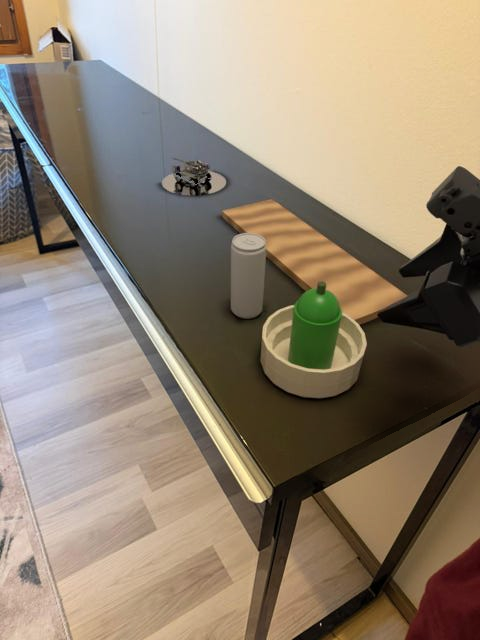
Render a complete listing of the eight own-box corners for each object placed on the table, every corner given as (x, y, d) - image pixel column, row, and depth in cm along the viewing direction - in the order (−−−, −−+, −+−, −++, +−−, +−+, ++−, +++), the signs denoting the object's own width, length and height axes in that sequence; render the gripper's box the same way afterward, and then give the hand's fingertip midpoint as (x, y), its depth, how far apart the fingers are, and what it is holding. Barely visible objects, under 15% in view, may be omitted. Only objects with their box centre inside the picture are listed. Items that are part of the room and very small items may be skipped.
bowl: (367, 346, 63) (375, 318, 60) (346, 414, 54) (353, 385, 51) (279, 322, 67) (282, 294, 64) (245, 381, 58) (246, 352, 55)
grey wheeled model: (193, 165, 115) (192, 143, 111) (239, 180, 108) (239, 158, 104) (148, 183, 106) (145, 159, 102) (195, 201, 99) (194, 177, 95)
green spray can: (336, 352, 62) (352, 276, 54) (325, 381, 57) (340, 303, 50) (295, 341, 63) (305, 265, 55) (281, 368, 59) (290, 290, 51)
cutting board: (408, 305, 71) (411, 298, 70) (348, 329, 66) (350, 321, 65) (271, 205, 98) (271, 198, 97) (221, 217, 93) (221, 210, 92)
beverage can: (241, 297, 72) (242, 229, 64) (268, 307, 70) (272, 238, 62) (224, 313, 69) (224, 243, 61) (252, 324, 67) (255, 253, 59)
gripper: (518, 118, 43) (375, 199, 53) (503, 189, 30) (318, 276, 41) (569, 217, 45) (422, 274, 56) (575, 321, 32) (382, 370, 43)
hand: (390, 294), depth 49 cm, fingers open, 9 cm apart
